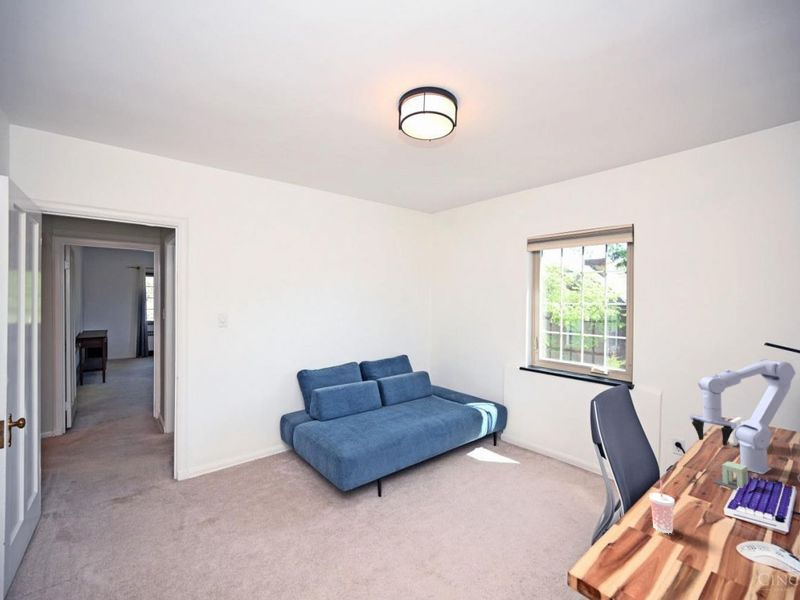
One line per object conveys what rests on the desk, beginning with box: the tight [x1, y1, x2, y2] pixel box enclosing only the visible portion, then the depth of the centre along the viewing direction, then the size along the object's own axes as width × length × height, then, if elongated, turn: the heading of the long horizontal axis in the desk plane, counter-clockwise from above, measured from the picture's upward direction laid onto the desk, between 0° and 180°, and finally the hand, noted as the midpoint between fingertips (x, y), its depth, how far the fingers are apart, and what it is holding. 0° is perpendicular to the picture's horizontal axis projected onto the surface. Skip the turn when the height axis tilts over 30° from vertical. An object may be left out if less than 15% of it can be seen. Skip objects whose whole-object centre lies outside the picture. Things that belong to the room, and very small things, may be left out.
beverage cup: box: [648, 479, 676, 535], centre depth 110 cm, size 6×6×14 cm
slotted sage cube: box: [721, 460, 749, 488], centre depth 136 cm, size 6×6×6 cm
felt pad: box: [712, 475, 738, 491], centre depth 136 cm, size 10×10×1 cm
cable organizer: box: [728, 416, 757, 447], centre depth 173 cm, size 15×11×12 cm
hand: (712, 442), depth 150 cm, fingers open, 7 cm apart
